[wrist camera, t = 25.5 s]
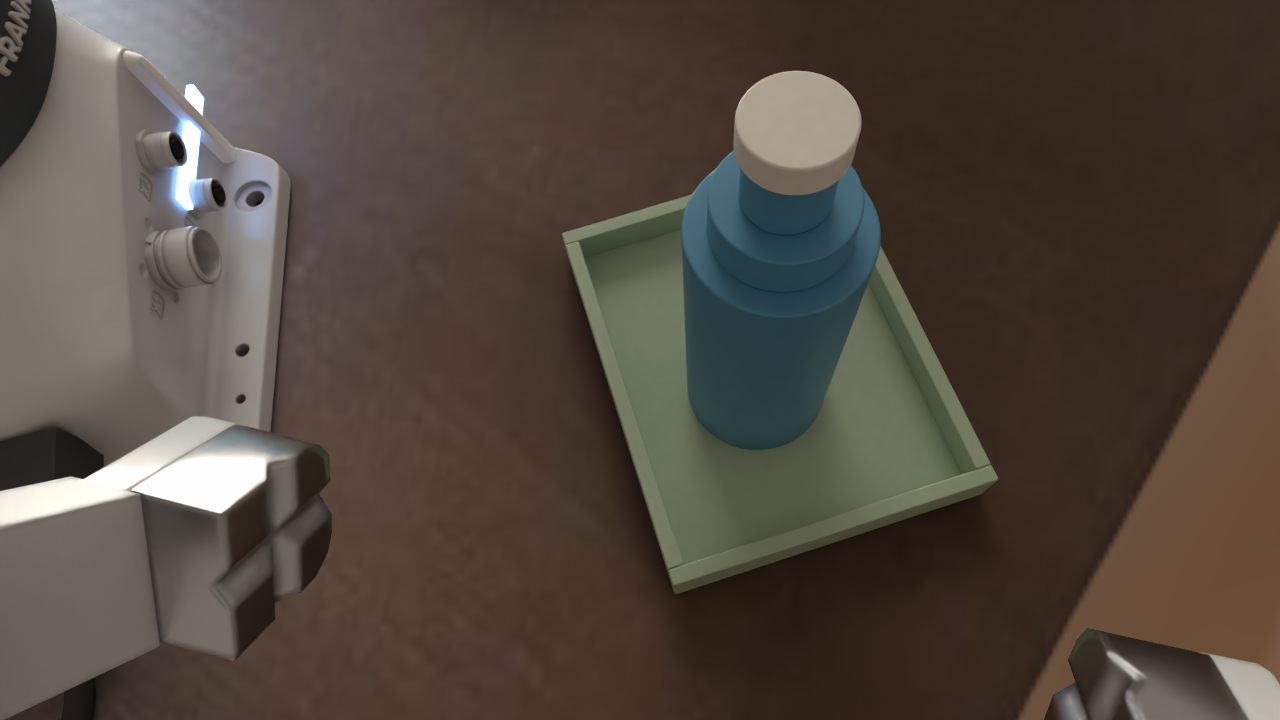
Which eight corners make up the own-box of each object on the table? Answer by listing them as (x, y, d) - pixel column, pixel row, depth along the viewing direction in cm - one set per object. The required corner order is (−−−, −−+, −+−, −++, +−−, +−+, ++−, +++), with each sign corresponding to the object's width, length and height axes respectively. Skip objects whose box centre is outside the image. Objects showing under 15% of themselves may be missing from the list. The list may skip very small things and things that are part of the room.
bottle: (748, 478, 32) (790, 266, 17) (660, 378, 33) (628, 110, 19) (852, 393, 33) (975, 126, 18) (760, 301, 35) (804, -9, 20)
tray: (981, 494, 31) (999, 479, 29) (674, 595, 31) (672, 586, 29) (827, 181, 37) (834, 151, 36) (568, 258, 37) (561, 233, 35)
